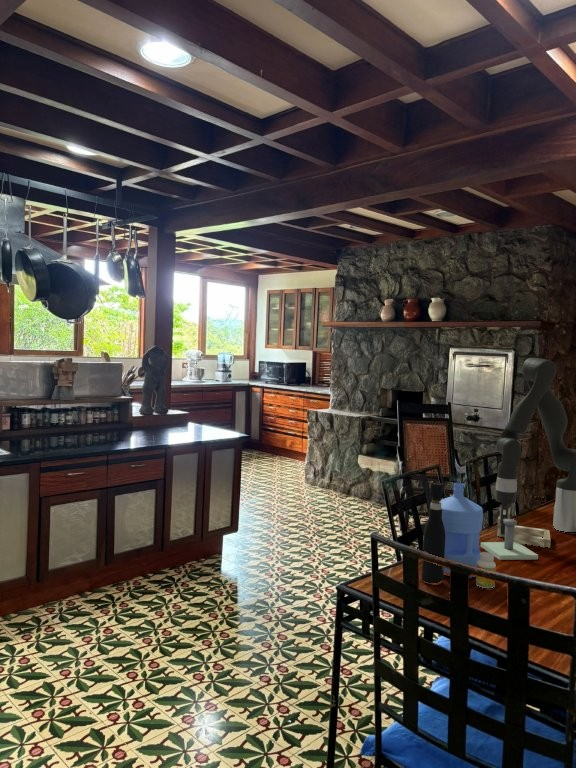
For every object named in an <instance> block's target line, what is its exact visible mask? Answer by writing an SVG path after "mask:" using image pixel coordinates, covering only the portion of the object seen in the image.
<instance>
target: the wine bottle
mask: <svg viewBox="0 0 576 768" xmlns="http://www.w3.org/2000/svg"><path fill="white" fill-rule="evenodd" d="M429 487H430V488H429V495H431V502H430V507H429V509H428V519H427V521H426V524H425V526H424V530H423V539H422V551H423V550H424V551H426V552H428V553H429V554H432V555H435V556H438V557H442V558H444V555H445V528H444V524H443V521H442V509H441V508H442V507H441V506H442V505H441V503H440V501H441V500H442V498H441V497H442V496H444V488H445V487H444V483H443V482H438V481H432V482H430V486H429ZM443 575H444V567H442V566H438V565H436V564H433V563H429V562H426V561H423V560H422V561H421V575H420V577H421V579H422V580H423V581H425V582H428V583H438V582H440V581H442V580H443V581H444V576H443ZM421 579H420V580H421Z"/></svg>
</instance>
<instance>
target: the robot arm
mask: <svg viewBox="0 0 576 768" xmlns="http://www.w3.org/2000/svg"><path fill="white" fill-rule="evenodd" d="M522 375H523V378H524V380H525V382H526V384H527V386H528V388H529V392H527V394H526V395H525V396H524V397H523V398H522V399H521V400H520V401H519V402H518V404H517V405H516V406H514V409H513V411H512V413H511V415H510V417H509V419H508V423H507V425H506V426H505V428H504V429H503V430H502V432H501V434H500V435H499V437H498V439H497V441H496V450H497V452H499V454H501V455H502V457H501V461H500V462H499V463H498V464H497V475H496V481H495V482H496V483H495V501H496V502H498V503H501V504H500V505H499V517H500V519H501V522H500V524H501V531H500V534H502V535H505V524H504V523H503V521H502V519H509V518H510V514H511V508H512V507H511V505H510V504H515V503H516V502H517V491H518V489H517V488H518V481H517V480H518V479H517V477H518V466H519V463H520V460H521V455H522V446H521V443H520V442H519V441H518V439H519V437H520V436H522V435H524V434H525V433H526V431H527V430H528V427H529V424H530V422H531V420H532V418H533V414H534V413H535V411H536V409H537V410H538V411H537V412H538V414H539V417H540V420H541V424H542V426H543V428H544V431H545V435H546V438H547V440H548V445H549V449H550V453H551V458H552V461H553V464H554V466H555V467H556V468H557V469H558V470H561V471H564V472H568V474H567V477H564V478H560V479H557V481H556V488H555V504H554V505H553V519H552V520H553V521H552V527H553V526H554V527H553V529H554V528H555V529H556V531H557V530H559V531H558V532H560V531H564V532H563V533H565V532H576V449H575V448H568V447H567V446H566V445H565V442H564V434H565V432H566V430H567V428H568V421H569V420H568V416H567V413H566V410H565V407H564V405H563V404H562V402H561V401H560V399H559V398H558V397H557V396H556V395H555V394H554V393H553V392H552V390H551V389H550V386H551V384H552V383H553V380H554V379H555V376H556V375H557V366H556V364H555V362H553V361H552V360H550V359H544V358H539V357H530V358H527V359H526V360H524V362H523V365H522ZM555 529H554V530H555Z"/></svg>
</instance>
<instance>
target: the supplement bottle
mask: <svg viewBox="0 0 576 768" xmlns="http://www.w3.org/2000/svg"><path fill="white" fill-rule="evenodd" d="M480 552H481V553H480V559H479V560H478V561H477V567H478V568H482V569H486V570H490V571H494V572H496V571H497V570H496V569H497V565H496V562H495V561H494V560H495V556H494V555H493V554H492V553H489V552H488V551H480ZM475 585H476V587H478V586H479V587H478V588H480V587H482V588H481V589H483V588H493V587H494V588H495V586H496V580H495V581H492V580H488V579H485V578H481V577H477V576H475ZM494 588H493V589H494Z"/></svg>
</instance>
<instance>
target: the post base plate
mask: <svg viewBox="0 0 576 768" xmlns="http://www.w3.org/2000/svg"><path fill="white" fill-rule="evenodd" d="M503 523H504V524H505V537H504V541H493V542H492V541H491V542H490V541H487V542H486V541H485V542H484V541H482V542H481V541H480V547H481V548H482V549H484V550H485V552H488V553H492V554H493V555H494V558H496V559H498V560H499V561H502V560H505V561H506V560H507V561H511V560H512V561H513V560H514V561H515V560H521V561H522V560H523V561H524V560H525V561H526V560H527V561H528V560H531V561H532V560H538V559H539V554H537V553H535V552H534V551H532V550H530V549H529V548H527V547H526V546H525V545H523V544H519V543H518V542H514V526H518V525H517V524H518V521H517V520H516V519H514V518H513V519H512V518H511V519H504V521H503Z"/></svg>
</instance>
